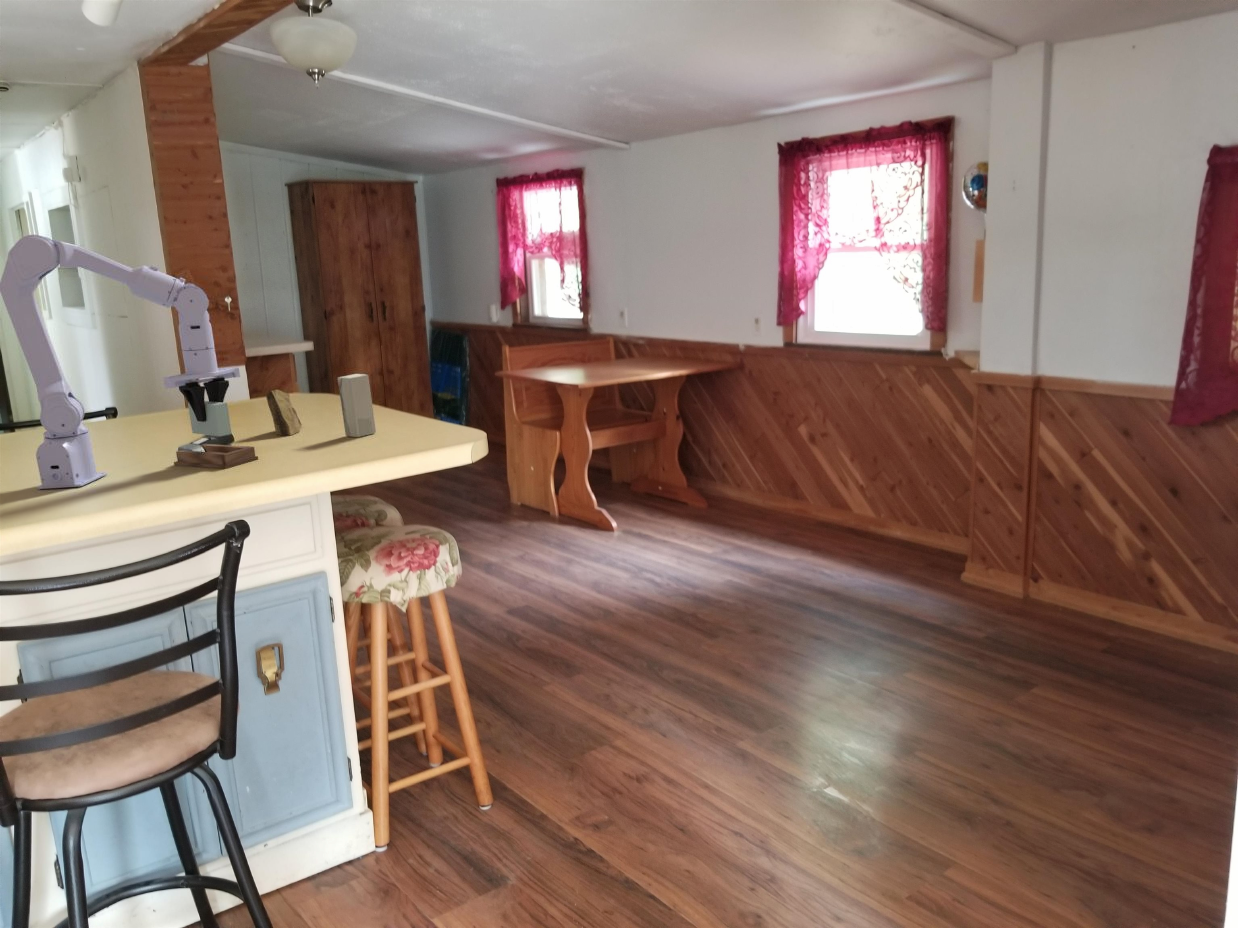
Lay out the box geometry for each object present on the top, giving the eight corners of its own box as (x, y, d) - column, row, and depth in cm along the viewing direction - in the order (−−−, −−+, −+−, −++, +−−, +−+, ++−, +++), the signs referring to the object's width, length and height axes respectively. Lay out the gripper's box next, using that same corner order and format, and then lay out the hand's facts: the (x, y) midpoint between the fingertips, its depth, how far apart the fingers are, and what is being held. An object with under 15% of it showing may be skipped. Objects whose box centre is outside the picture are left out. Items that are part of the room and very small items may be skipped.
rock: (285, 415, 222) (252, 418, 213) (301, 386, 219) (268, 387, 210) (314, 445, 219) (281, 449, 210) (331, 416, 216) (298, 418, 207)
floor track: (258, 459, 186) (256, 446, 186) (225, 468, 180) (223, 455, 179) (207, 456, 193) (205, 443, 192) (174, 465, 186) (172, 452, 185)
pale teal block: (192, 433, 186) (187, 402, 185) (204, 430, 188) (200, 400, 187) (219, 436, 181) (214, 405, 180) (231, 433, 183) (227, 403, 182)
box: (364, 431, 209) (357, 373, 206) (376, 433, 206) (369, 374, 203) (343, 436, 205) (336, 376, 202) (356, 438, 202) (348, 377, 199)
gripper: (220, 344, 189) (231, 412, 192) (150, 353, 178) (162, 425, 181) (241, 344, 185) (252, 413, 188) (171, 354, 174) (183, 427, 177)
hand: (209, 419), depth 184 cm, fingers closed on pale teal block, 3 cm apart
